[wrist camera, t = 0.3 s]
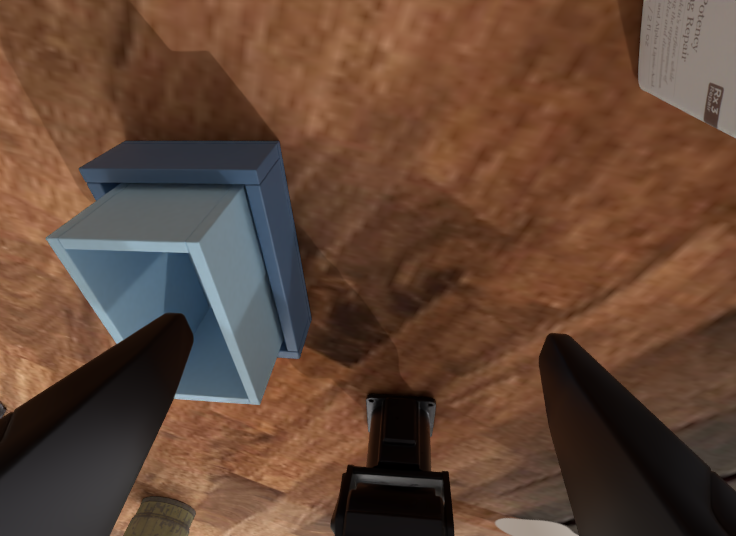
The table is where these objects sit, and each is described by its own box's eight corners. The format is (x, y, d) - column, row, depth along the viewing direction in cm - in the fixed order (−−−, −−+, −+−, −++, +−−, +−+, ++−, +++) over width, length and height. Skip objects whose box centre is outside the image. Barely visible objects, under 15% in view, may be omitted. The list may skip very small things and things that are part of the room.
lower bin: (311, 319, 30) (299, 359, 27) (200, 313, 31) (176, 352, 28) (279, 140, 21) (256, 169, 18) (124, 140, 22) (77, 168, 19)
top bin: (293, 312, 29) (260, 405, 23) (207, 308, 30) (152, 397, 24) (260, 164, 22) (198, 242, 16) (147, 163, 22) (44, 237, 16)
